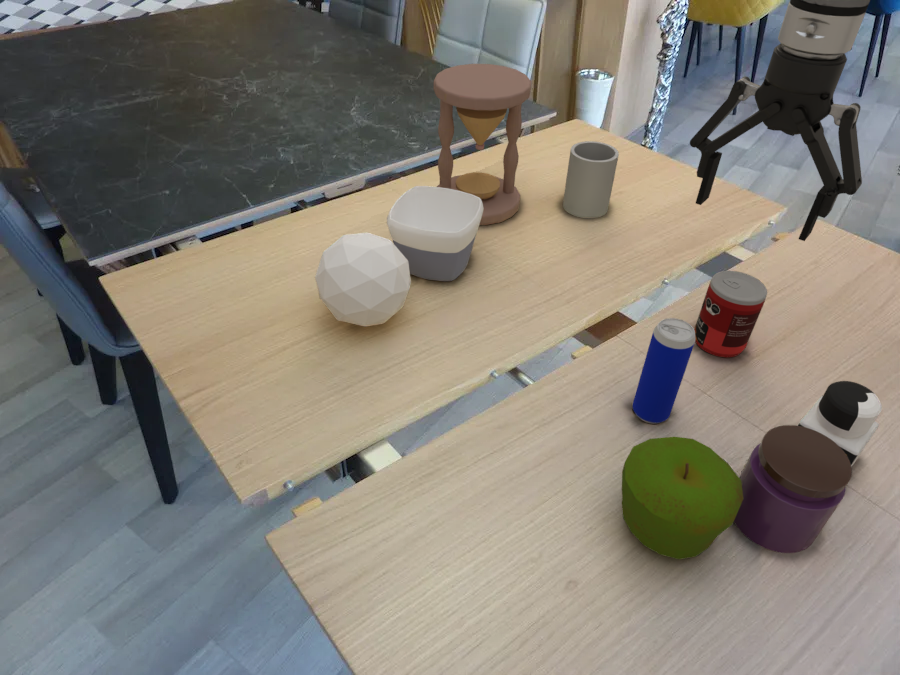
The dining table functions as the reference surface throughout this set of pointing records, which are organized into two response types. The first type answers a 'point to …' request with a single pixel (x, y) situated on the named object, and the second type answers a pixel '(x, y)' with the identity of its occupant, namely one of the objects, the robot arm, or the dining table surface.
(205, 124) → the dining table surface
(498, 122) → the hourglass
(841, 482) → the jar
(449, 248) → the bowl
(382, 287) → the geometric shape
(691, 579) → the dining table surface
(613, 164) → the cup
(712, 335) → the canned food
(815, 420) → the medicine bottle
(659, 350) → the beverage can
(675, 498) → the apple
